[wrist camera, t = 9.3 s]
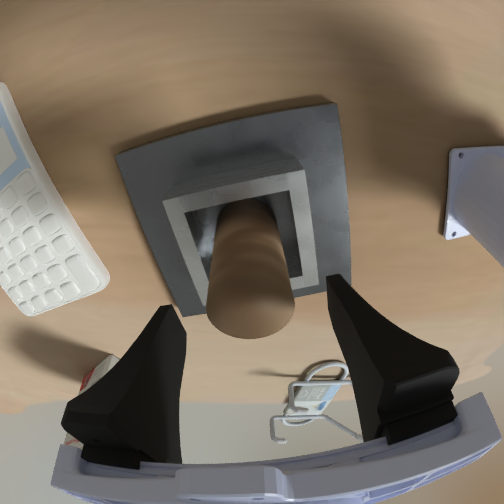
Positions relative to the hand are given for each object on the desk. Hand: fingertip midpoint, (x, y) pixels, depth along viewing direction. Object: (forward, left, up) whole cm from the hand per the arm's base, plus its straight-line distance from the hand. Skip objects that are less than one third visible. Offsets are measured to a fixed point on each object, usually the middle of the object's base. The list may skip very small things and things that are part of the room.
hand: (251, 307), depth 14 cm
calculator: (+20, -6, -10) cm, 23 cm away
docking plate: (0, 0, -9) cm, 9 cm away
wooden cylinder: (0, 0, -8) cm, 8 cm away
